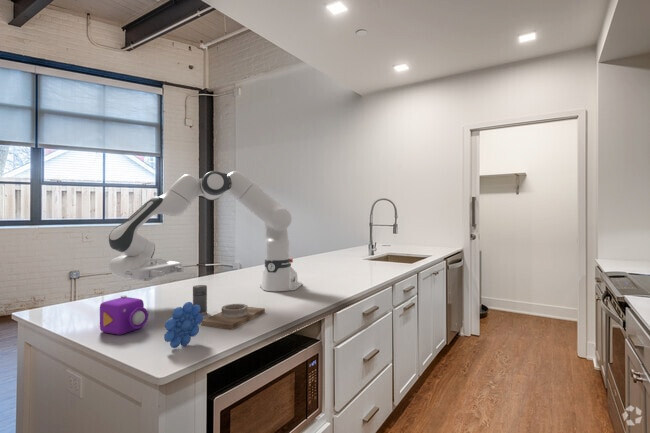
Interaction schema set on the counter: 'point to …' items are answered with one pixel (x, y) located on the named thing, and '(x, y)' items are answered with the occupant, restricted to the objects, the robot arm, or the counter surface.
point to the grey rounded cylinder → (200, 298)
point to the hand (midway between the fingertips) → (173, 271)
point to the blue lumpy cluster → (183, 325)
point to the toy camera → (122, 315)
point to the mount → (233, 316)
